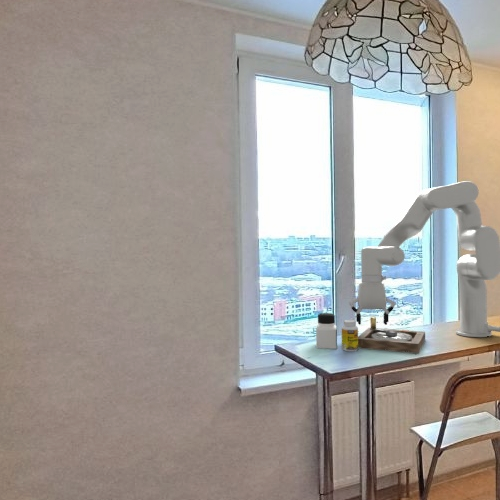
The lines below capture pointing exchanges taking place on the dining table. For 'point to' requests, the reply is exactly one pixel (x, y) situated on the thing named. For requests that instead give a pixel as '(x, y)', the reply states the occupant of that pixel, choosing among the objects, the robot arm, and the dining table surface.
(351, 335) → the supplement bottle
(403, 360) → the dining table surface
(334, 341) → the medicine bottle
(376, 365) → the dining table surface
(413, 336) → the housing
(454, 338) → the dining table surface
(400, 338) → the dial
